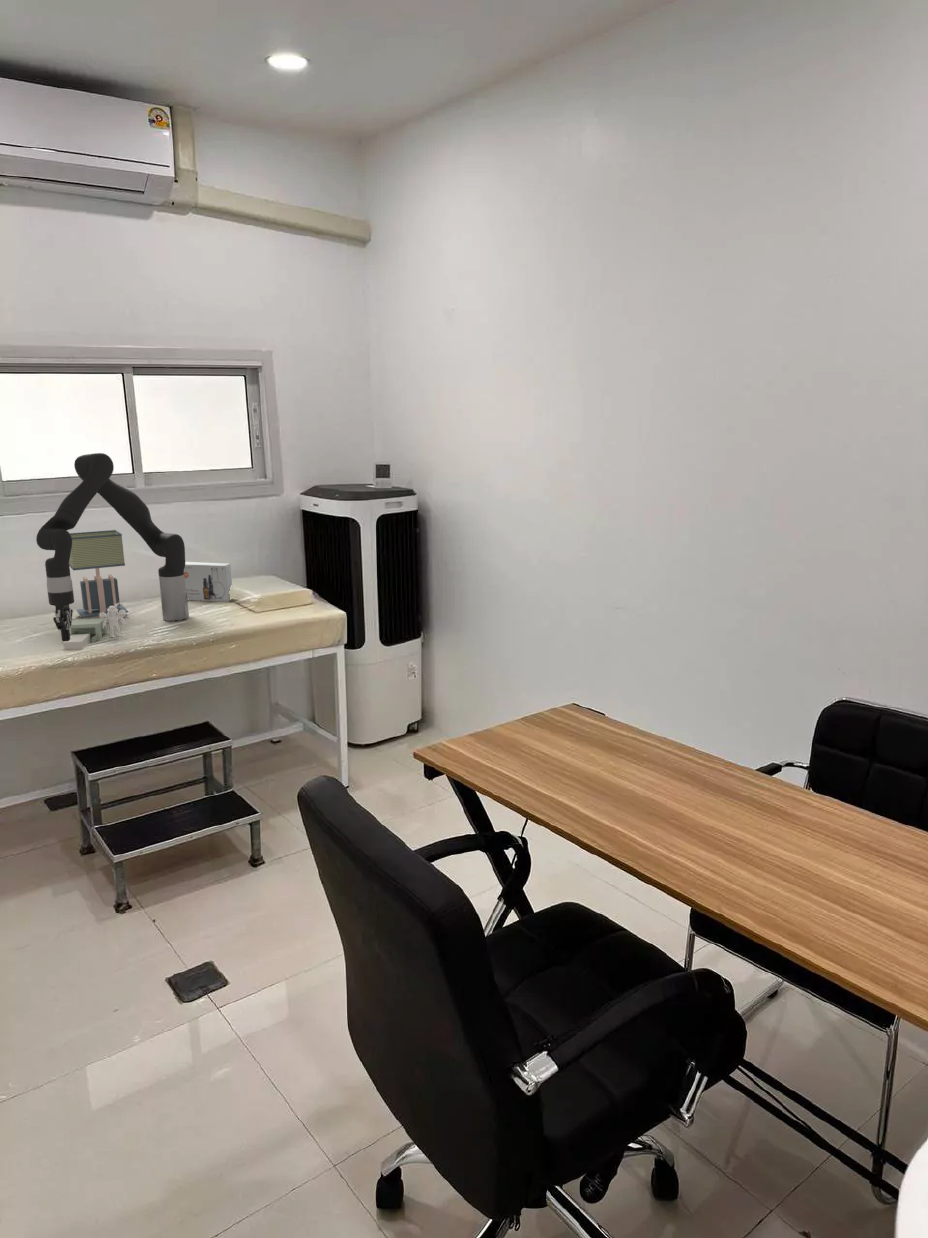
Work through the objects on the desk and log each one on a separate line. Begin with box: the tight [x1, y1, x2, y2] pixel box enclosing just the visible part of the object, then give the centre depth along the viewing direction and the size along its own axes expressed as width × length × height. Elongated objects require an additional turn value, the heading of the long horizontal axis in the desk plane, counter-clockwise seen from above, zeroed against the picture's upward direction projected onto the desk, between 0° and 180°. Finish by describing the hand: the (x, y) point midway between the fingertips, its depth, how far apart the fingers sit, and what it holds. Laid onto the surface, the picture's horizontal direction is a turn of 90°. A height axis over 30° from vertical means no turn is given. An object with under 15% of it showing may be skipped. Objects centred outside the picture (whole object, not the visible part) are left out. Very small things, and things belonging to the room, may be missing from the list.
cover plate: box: [62, 634, 92, 650], centre depth 284 cm, size 6×10×3 cm, turn 9°
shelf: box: [69, 618, 108, 643], centre depth 292 cm, size 12×13×6 cm
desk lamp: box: [69, 529, 129, 619], centre depth 320 cm, size 18×14×33 cm
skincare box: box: [184, 561, 233, 603], centre depth 350 cm, size 21×6×16 cm, turn 81°
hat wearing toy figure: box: [99, 601, 127, 638], centre depth 294 cm, size 9×4×12 cm, turn 122°
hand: (66, 640), depth 273 cm, fingers closed
